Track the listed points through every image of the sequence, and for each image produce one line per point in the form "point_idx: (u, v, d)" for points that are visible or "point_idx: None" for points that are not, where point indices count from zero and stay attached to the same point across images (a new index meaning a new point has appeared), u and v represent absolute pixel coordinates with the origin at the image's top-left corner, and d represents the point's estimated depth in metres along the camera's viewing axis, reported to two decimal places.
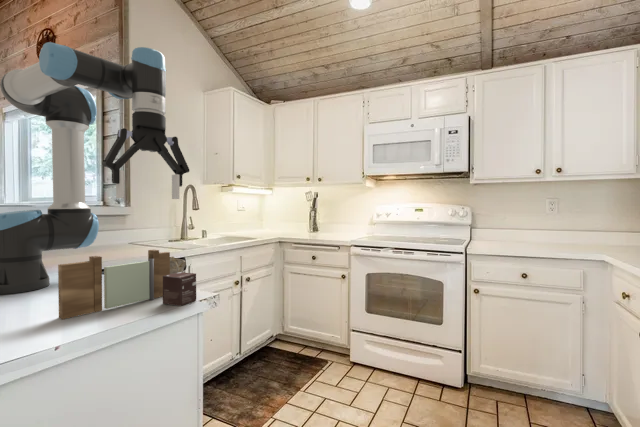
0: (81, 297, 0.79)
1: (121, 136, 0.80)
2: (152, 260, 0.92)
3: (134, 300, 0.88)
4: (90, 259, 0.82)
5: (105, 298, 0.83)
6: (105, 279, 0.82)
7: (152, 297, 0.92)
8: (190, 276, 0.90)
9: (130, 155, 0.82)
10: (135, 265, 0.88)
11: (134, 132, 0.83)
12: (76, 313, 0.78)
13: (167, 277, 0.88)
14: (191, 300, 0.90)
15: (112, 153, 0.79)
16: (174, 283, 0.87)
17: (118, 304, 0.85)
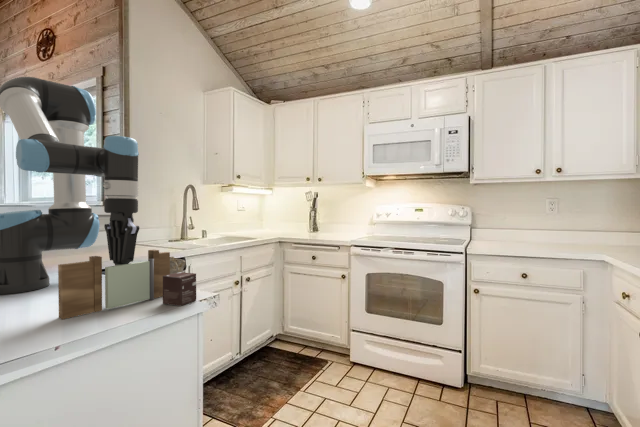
0: (81, 297, 0.79)
1: (106, 231, 0.90)
2: (152, 260, 0.92)
3: (135, 300, 0.88)
4: (90, 259, 0.82)
5: (106, 298, 0.82)
6: (106, 279, 0.82)
7: (152, 297, 0.92)
8: (190, 276, 0.90)
9: (114, 245, 0.88)
10: (135, 265, 0.88)
11: None
12: (76, 313, 0.78)
13: (167, 277, 0.88)
14: (191, 300, 0.90)
15: (108, 249, 0.90)
16: (174, 283, 0.87)
17: (119, 304, 0.84)
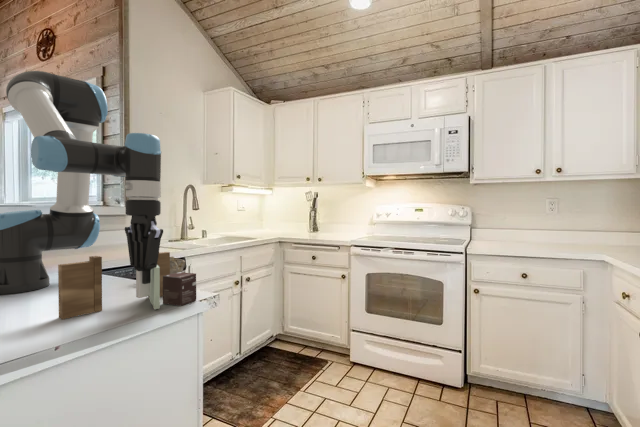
0: (81, 297, 0.79)
1: (126, 235, 0.85)
2: None
3: None
4: (90, 259, 0.82)
5: (157, 298, 0.83)
6: (157, 280, 0.82)
7: None
8: (190, 276, 0.90)
9: (136, 250, 0.83)
10: None
11: None
12: (76, 313, 0.78)
13: (167, 277, 0.88)
14: (191, 300, 0.90)
15: (129, 253, 0.84)
16: (174, 283, 0.87)
17: None
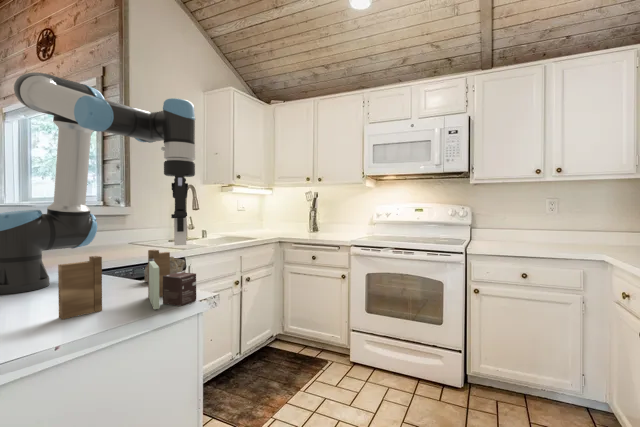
0: (81, 297, 0.79)
1: None
2: (153, 260, 0.92)
3: None
4: (90, 259, 0.82)
5: (157, 298, 0.83)
6: (156, 280, 0.82)
7: None
8: (190, 276, 0.90)
9: None
10: (155, 264, 0.88)
11: None
12: (76, 313, 0.78)
13: (167, 277, 0.88)
14: (191, 300, 0.90)
15: None
16: (174, 283, 0.87)
17: None
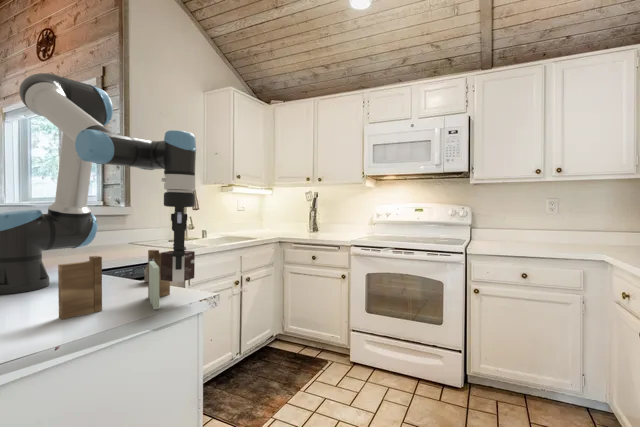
0: (81, 297, 0.79)
1: None
2: (153, 260, 0.92)
3: None
4: (90, 259, 0.82)
5: (157, 298, 0.83)
6: (156, 280, 0.82)
7: None
8: (188, 253, 0.90)
9: None
10: (155, 264, 0.88)
11: None
12: (76, 313, 0.78)
13: (165, 253, 0.88)
14: (189, 277, 0.90)
15: None
16: None
17: None
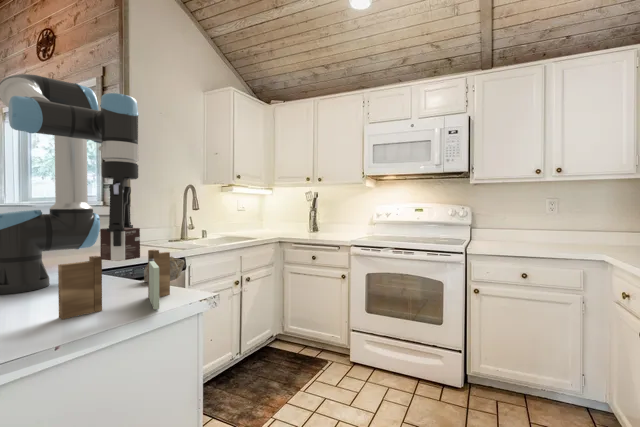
0: (81, 297, 0.79)
1: None
2: (153, 260, 0.92)
3: None
4: (90, 259, 0.82)
5: (157, 298, 0.83)
6: (156, 280, 0.82)
7: None
8: (132, 230, 0.81)
9: None
10: (155, 264, 0.88)
11: None
12: (76, 313, 0.78)
13: (105, 230, 0.79)
14: (133, 256, 0.82)
15: None
16: None
17: None
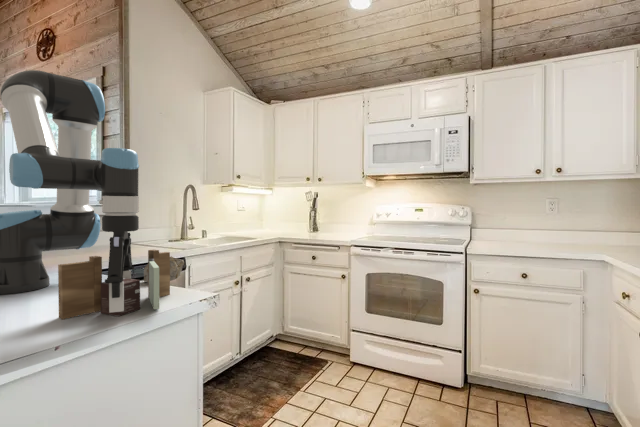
0: (81, 297, 0.79)
1: None
2: (153, 260, 0.92)
3: None
4: (90, 259, 0.82)
5: (157, 298, 0.83)
6: (156, 280, 0.82)
7: None
8: (132, 283, 0.82)
9: None
10: (155, 264, 0.88)
11: None
12: (76, 313, 0.78)
13: (105, 284, 0.80)
14: (133, 309, 0.82)
15: None
16: None
17: None
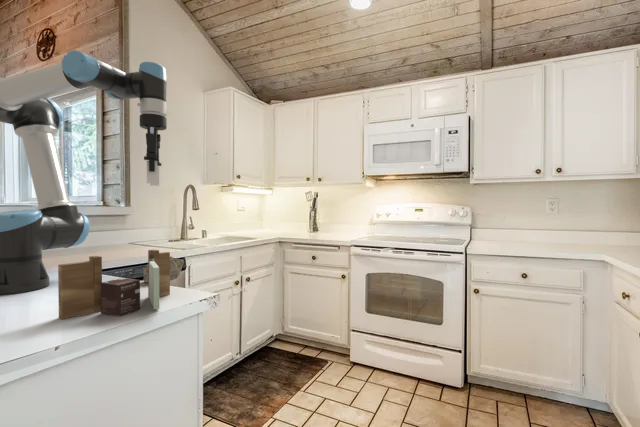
0: (81, 297, 0.79)
1: None
2: (153, 260, 0.92)
3: None
4: (90, 259, 0.82)
5: (157, 298, 0.83)
6: (156, 280, 0.82)
7: None
8: (132, 283, 0.82)
9: None
10: (155, 264, 0.88)
11: None
12: (76, 313, 0.78)
13: (105, 284, 0.80)
14: (133, 309, 0.82)
15: None
16: (112, 291, 0.79)
17: None
